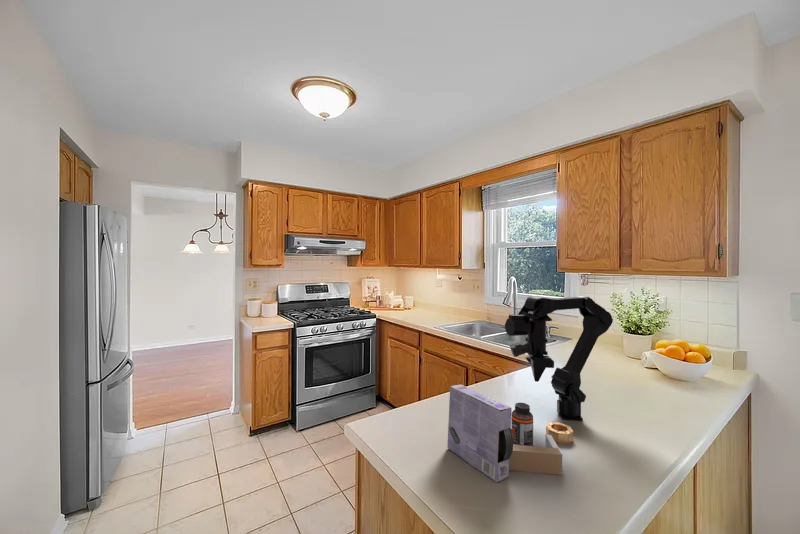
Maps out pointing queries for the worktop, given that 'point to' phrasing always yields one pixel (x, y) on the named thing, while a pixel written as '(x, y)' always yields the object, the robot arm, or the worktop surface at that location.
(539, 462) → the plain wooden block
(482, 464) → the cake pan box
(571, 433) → the wooden octagonal ring
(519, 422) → the supplement bottle
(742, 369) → the worktop surface
